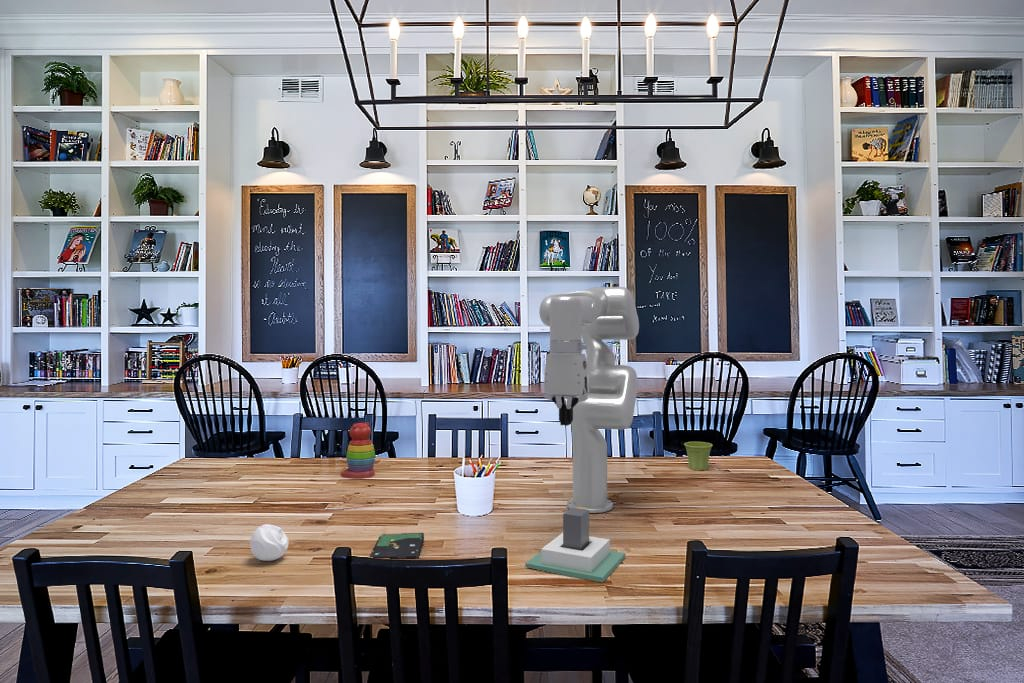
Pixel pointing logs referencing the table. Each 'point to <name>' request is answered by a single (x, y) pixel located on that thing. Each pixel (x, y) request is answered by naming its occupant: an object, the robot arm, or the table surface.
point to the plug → (576, 528)
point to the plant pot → (698, 455)
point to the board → (581, 574)
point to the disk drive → (398, 546)
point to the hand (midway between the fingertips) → (565, 424)
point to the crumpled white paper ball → (268, 542)
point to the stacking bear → (360, 453)
